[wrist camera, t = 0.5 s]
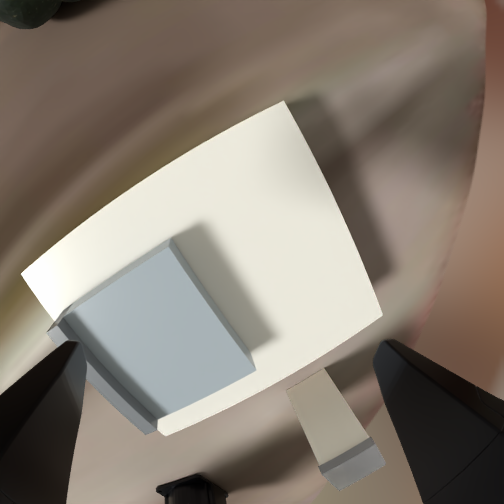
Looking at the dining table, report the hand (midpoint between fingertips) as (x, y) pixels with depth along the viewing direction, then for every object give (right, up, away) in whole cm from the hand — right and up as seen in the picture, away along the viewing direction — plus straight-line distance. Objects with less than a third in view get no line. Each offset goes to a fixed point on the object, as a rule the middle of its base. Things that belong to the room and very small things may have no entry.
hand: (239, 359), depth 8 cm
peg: (+6, -10, +19) cm, 22 cm away
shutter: (-6, -2, +10) cm, 12 cm away
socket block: (-3, +1, +14) cm, 14 cm away
